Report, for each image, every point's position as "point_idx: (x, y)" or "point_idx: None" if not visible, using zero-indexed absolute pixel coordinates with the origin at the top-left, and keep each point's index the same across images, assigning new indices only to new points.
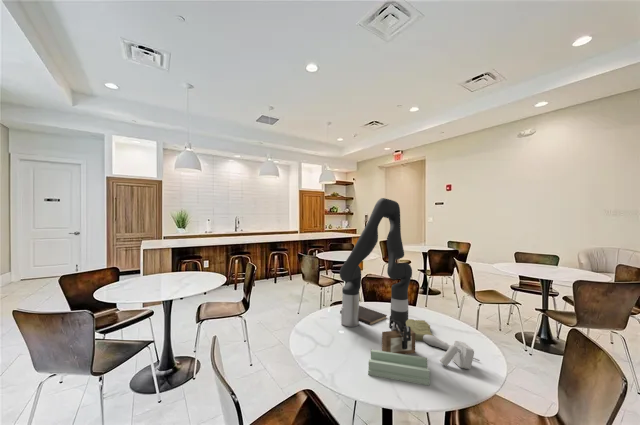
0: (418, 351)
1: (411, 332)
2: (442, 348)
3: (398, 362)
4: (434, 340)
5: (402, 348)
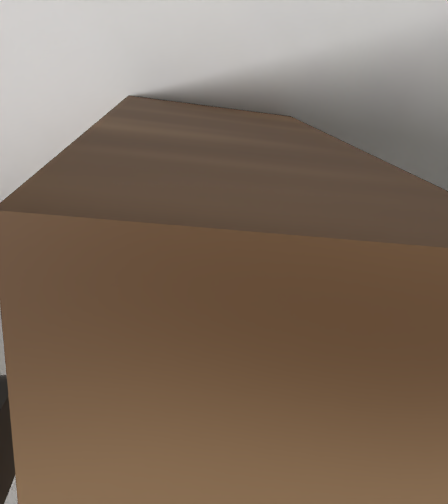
0: (276, 20)
1: (433, 409)
2: None
3: None
4: None
5: None
